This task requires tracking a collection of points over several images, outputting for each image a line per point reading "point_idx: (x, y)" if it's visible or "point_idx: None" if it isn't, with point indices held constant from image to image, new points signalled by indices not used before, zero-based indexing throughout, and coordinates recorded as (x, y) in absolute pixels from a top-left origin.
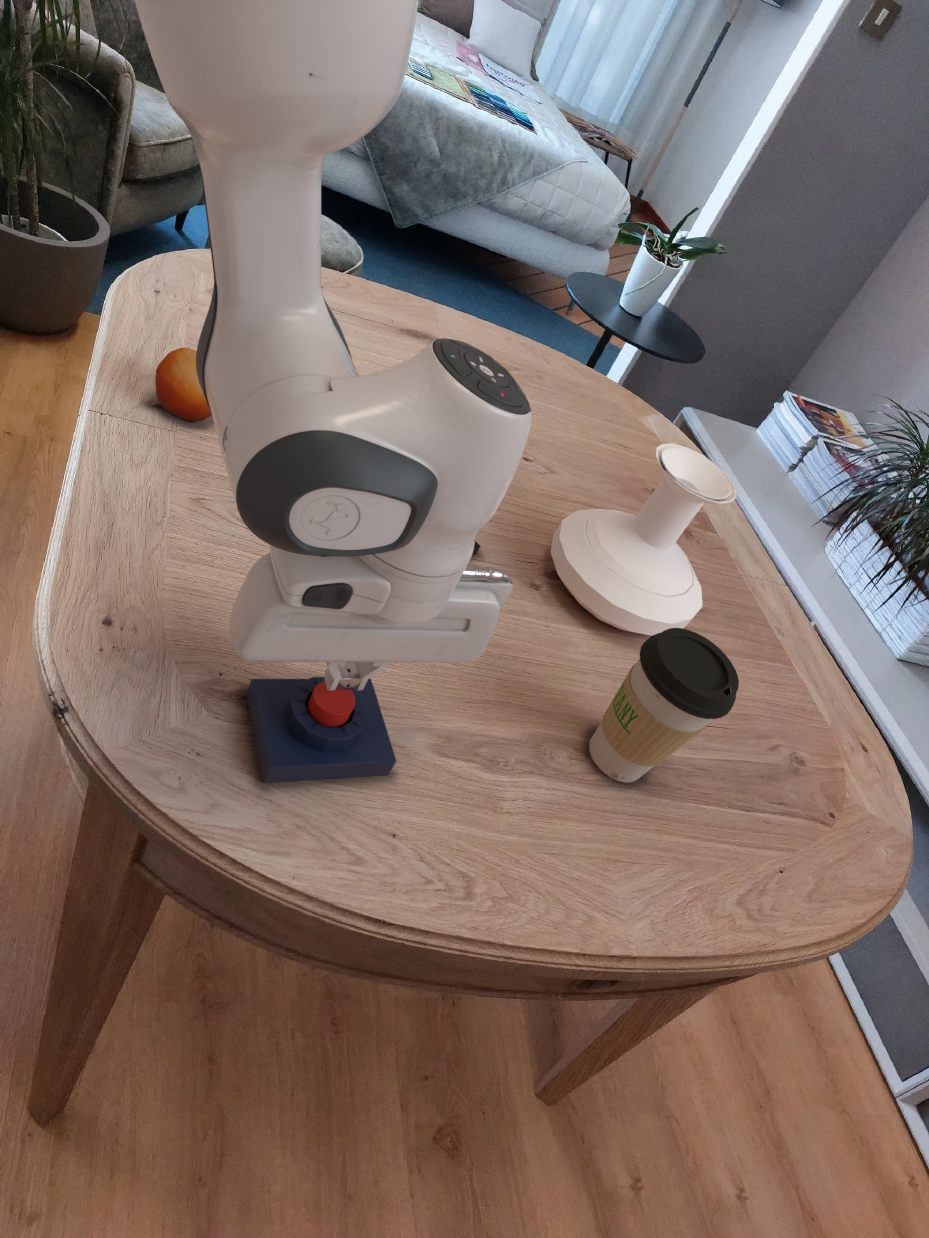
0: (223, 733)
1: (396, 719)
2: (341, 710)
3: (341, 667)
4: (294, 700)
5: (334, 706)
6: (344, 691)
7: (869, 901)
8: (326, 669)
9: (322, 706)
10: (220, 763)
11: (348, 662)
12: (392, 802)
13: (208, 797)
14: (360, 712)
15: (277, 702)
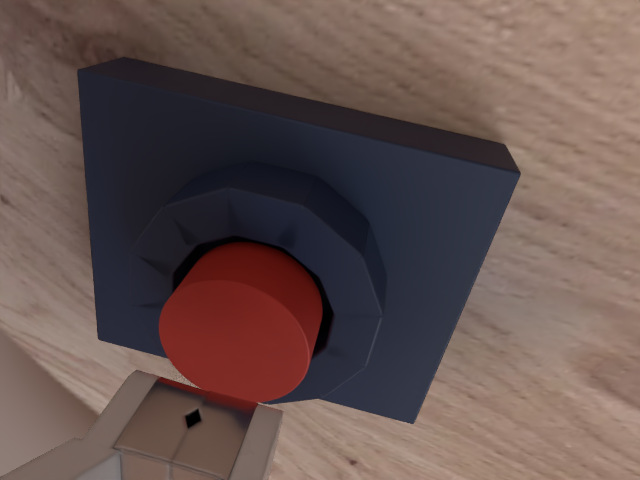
0: (58, 165)
1: (549, 258)
2: (238, 391)
3: (136, 475)
4: (141, 257)
5: (219, 373)
6: (277, 340)
7: None
8: (116, 394)
9: (178, 362)
10: (50, 234)
11: (181, 465)
12: (387, 420)
13: (27, 292)
14: (343, 356)
15: (145, 182)
